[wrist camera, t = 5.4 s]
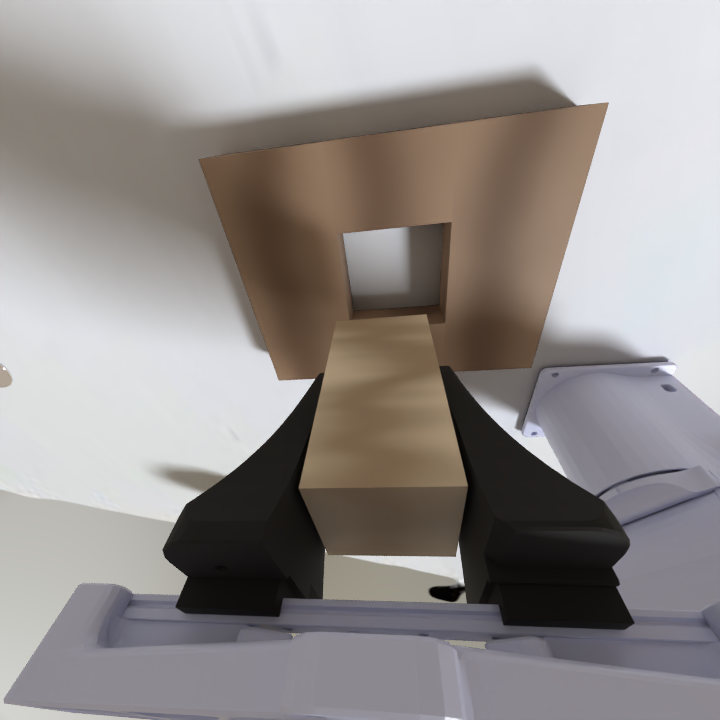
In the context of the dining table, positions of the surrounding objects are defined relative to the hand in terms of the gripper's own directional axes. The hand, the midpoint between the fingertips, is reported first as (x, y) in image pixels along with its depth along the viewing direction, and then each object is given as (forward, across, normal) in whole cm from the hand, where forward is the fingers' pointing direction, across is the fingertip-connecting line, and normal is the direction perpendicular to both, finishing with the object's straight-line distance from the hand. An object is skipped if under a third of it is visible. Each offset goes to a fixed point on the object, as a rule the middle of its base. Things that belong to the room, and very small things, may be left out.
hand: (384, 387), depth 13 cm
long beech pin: (+2, 0, 0) cm, 2 cm away
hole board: (+10, -1, -1) cm, 10 cm away
